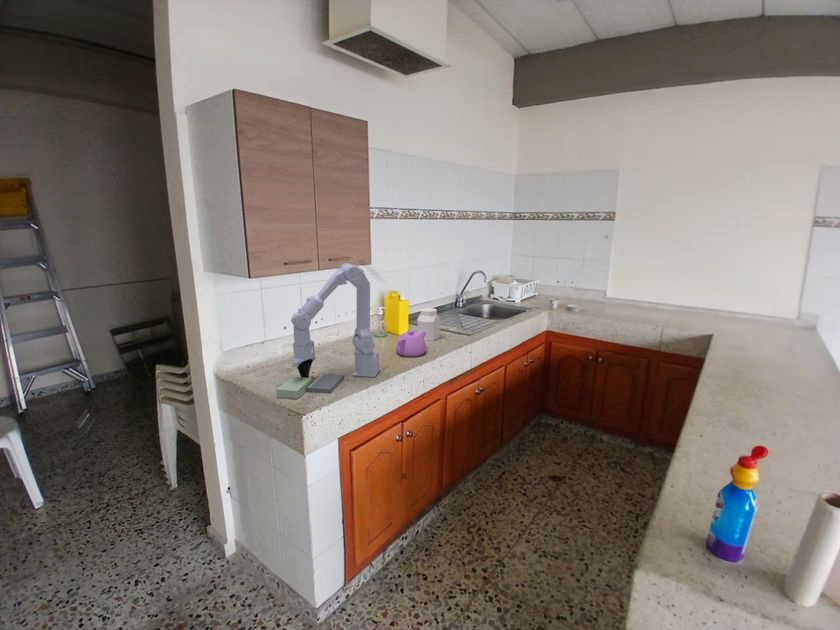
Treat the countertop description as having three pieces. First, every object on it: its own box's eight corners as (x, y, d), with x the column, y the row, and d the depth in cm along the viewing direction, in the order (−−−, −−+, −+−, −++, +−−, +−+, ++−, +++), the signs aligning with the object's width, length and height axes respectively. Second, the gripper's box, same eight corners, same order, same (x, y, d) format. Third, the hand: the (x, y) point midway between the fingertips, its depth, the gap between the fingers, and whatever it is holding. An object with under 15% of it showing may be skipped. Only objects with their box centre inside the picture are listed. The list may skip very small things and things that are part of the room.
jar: (431, 342, 209) (431, 313, 205) (414, 339, 213) (414, 310, 210) (441, 336, 219) (442, 308, 215) (425, 334, 223) (425, 306, 220)
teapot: (436, 349, 198) (436, 327, 195) (411, 361, 182) (411, 337, 179) (412, 344, 206) (412, 323, 203) (386, 355, 190) (386, 332, 187)
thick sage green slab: (312, 385, 156) (311, 377, 155) (297, 399, 144) (297, 390, 144) (292, 384, 157) (292, 376, 156) (277, 397, 146) (276, 389, 145)
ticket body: (344, 378, 162) (343, 374, 162) (330, 393, 149) (330, 389, 149) (322, 377, 164) (321, 373, 164) (306, 391, 151) (306, 387, 150)
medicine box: (309, 357, 187) (308, 338, 185) (315, 359, 184) (314, 340, 182) (294, 362, 181) (292, 342, 179) (300, 364, 178) (298, 344, 176)
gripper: (300, 338, 162) (303, 371, 166) (283, 349, 148) (285, 385, 152) (318, 339, 161) (320, 372, 164) (301, 350, 147) (304, 386, 150)
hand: (305, 378), depth 158 cm, fingers closed
